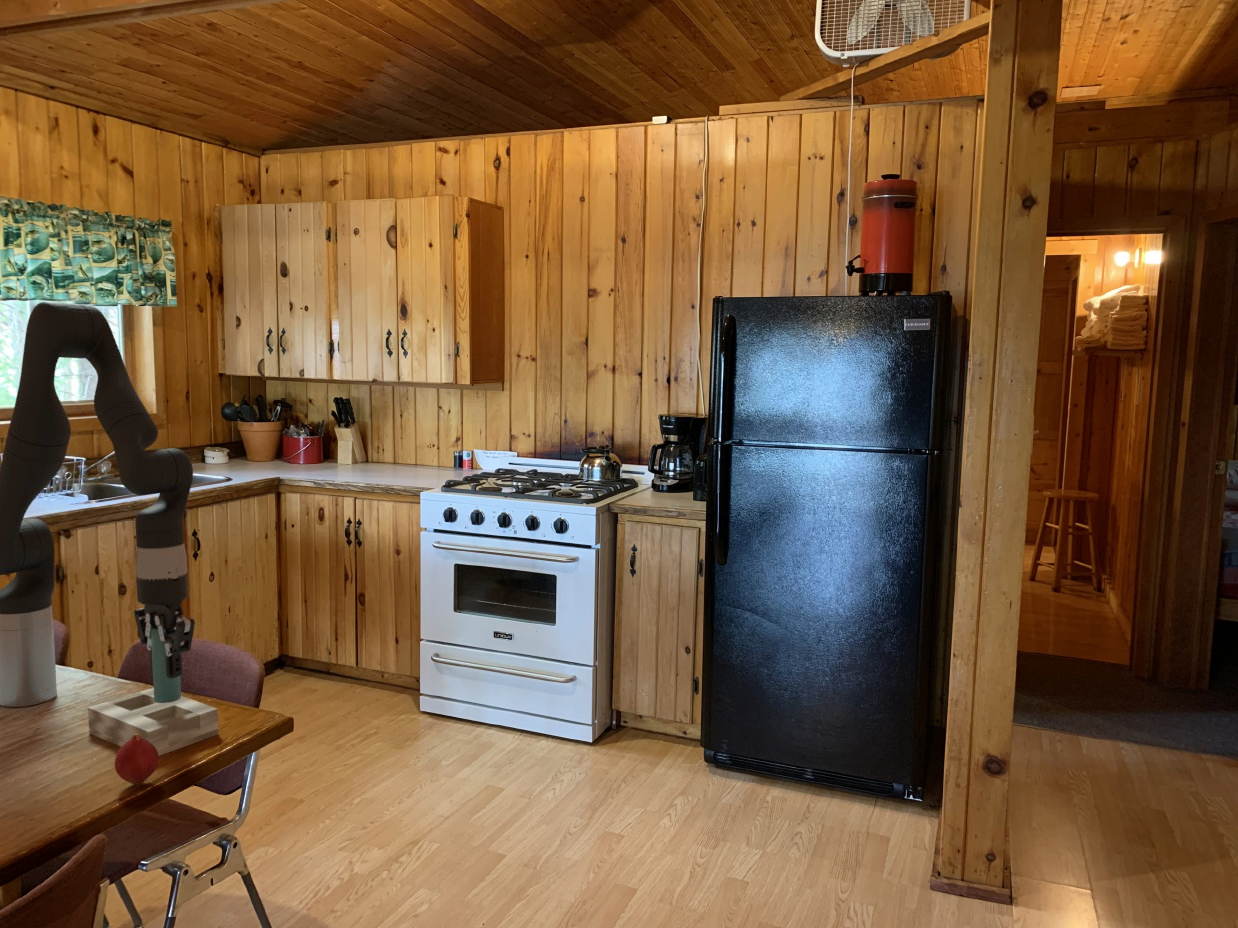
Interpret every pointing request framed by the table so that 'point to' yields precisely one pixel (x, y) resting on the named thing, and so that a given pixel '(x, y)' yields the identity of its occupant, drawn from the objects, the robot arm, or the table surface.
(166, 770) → the table surface
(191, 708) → the hole board
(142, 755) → the onion
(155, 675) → the pin
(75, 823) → the table surface
